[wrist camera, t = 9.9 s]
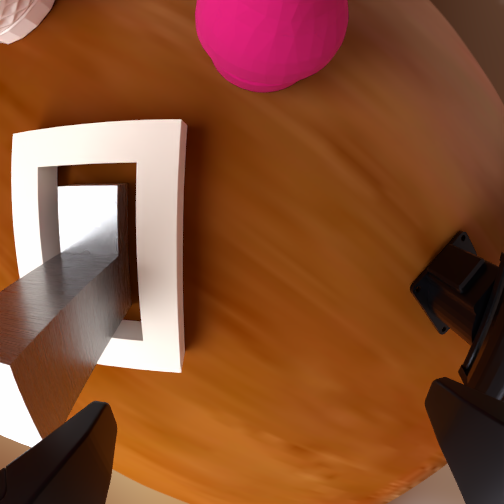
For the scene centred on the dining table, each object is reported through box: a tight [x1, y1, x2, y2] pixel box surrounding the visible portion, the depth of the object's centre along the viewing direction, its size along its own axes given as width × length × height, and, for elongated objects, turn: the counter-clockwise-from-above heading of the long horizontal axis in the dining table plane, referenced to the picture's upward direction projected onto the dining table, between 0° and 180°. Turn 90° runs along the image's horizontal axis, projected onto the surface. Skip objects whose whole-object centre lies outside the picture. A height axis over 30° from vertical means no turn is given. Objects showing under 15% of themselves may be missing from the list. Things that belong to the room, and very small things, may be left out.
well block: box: [12, 119, 187, 373], centre depth 17 cm, size 11×15×2 cm
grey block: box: [0, 183, 132, 447], centre depth 12 cm, size 4×8×13 cm, turn 176°
